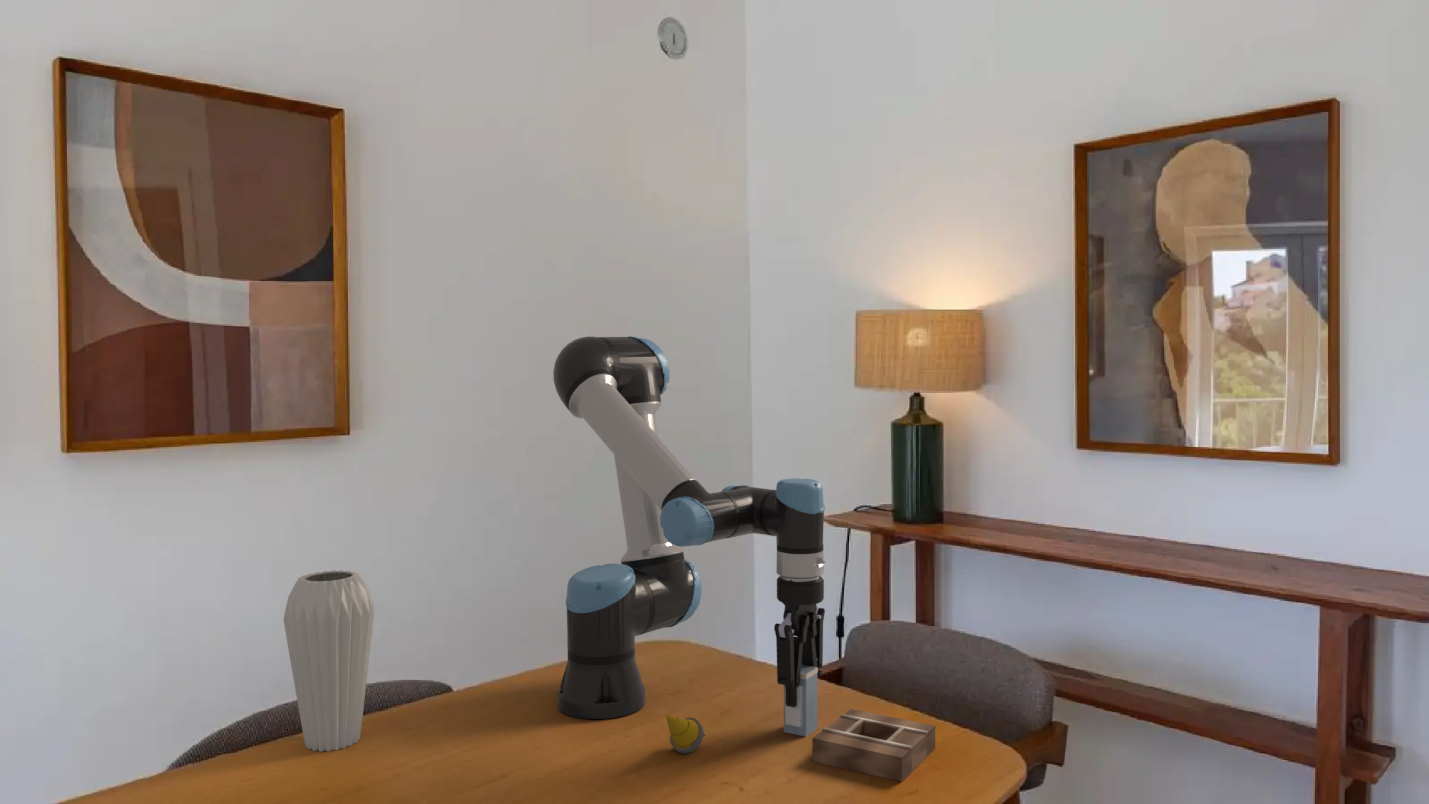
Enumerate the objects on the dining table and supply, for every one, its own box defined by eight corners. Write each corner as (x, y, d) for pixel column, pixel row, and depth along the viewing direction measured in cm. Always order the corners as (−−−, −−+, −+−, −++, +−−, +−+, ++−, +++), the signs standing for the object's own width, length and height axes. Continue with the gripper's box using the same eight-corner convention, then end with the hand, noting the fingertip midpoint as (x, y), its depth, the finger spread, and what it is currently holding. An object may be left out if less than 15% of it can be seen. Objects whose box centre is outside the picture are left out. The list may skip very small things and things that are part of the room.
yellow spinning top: (714, 754, 150) (683, 725, 144) (683, 766, 151) (651, 737, 145) (709, 723, 154) (680, 693, 148) (679, 735, 155) (649, 706, 149)
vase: (395, 733, 158) (392, 571, 157) (331, 764, 146) (327, 589, 145) (334, 721, 164) (330, 564, 162) (267, 750, 152) (262, 581, 150)
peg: (783, 731, 158) (783, 670, 157) (795, 723, 161) (795, 663, 161) (806, 737, 155) (806, 674, 155) (817, 728, 159) (817, 667, 158)
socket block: (812, 761, 146) (812, 736, 146) (851, 730, 158) (850, 707, 158) (901, 782, 139) (901, 755, 138) (935, 748, 151) (935, 723, 150)
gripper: (796, 590, 148) (797, 742, 149) (844, 568, 162) (844, 708, 163) (753, 584, 152) (754, 733, 153) (803, 564, 166) (803, 700, 167)
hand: (800, 720), depth 158 cm, fingers closed on peg, 4 cm apart
